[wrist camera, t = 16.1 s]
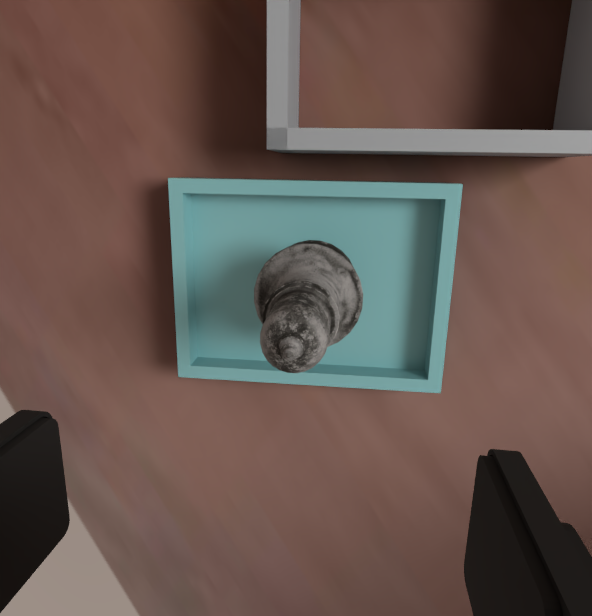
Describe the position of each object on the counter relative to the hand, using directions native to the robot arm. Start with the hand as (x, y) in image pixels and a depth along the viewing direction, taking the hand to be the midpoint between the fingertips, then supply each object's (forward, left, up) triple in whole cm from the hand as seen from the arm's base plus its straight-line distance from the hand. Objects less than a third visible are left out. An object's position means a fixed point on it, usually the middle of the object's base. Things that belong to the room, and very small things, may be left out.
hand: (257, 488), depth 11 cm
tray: (0, 0, -21) cm, 21 cm away
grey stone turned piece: (0, 0, -20) cm, 20 cm away
